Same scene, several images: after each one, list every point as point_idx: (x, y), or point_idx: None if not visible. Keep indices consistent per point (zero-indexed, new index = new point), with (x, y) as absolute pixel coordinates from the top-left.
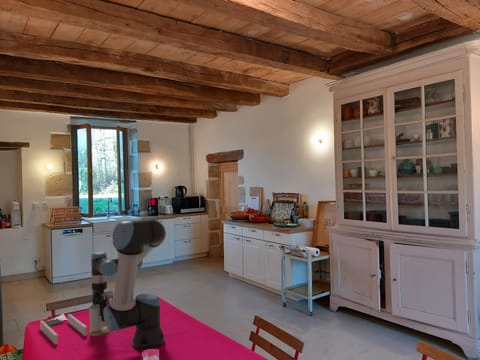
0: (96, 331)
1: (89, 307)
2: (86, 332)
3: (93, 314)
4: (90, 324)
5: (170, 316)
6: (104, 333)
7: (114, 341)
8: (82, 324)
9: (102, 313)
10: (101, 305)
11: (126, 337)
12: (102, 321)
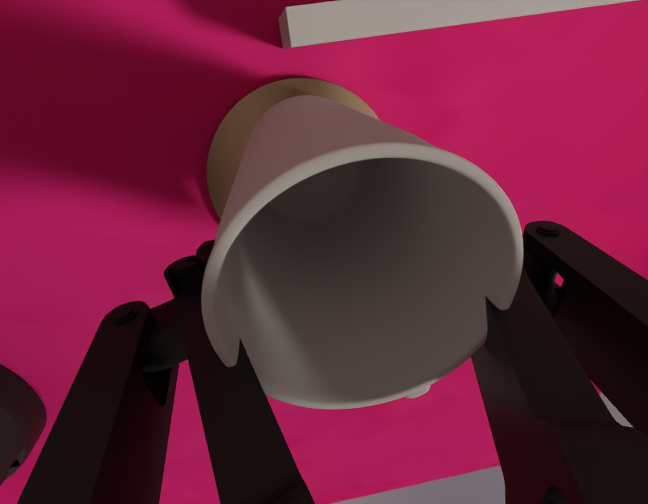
0: None
1: (430, 161)
2: (284, 40)
3: (237, 179)
4: (298, 101)
5: None
6: (216, 202)
7: (14, 238)
8: (416, 13)
9: (114, 326)
10: (97, 477)
11: (79, 319)
12: (202, 244)
